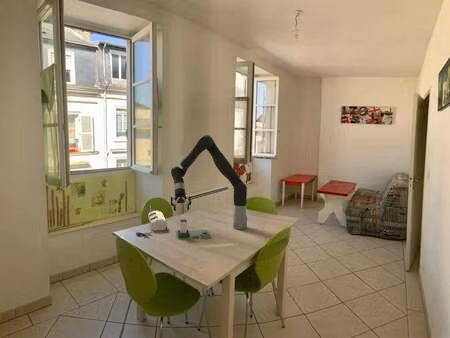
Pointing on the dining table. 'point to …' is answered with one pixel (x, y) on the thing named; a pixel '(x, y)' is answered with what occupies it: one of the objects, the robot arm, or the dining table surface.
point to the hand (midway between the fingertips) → (181, 210)
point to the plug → (183, 226)
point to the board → (192, 234)
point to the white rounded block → (157, 221)
